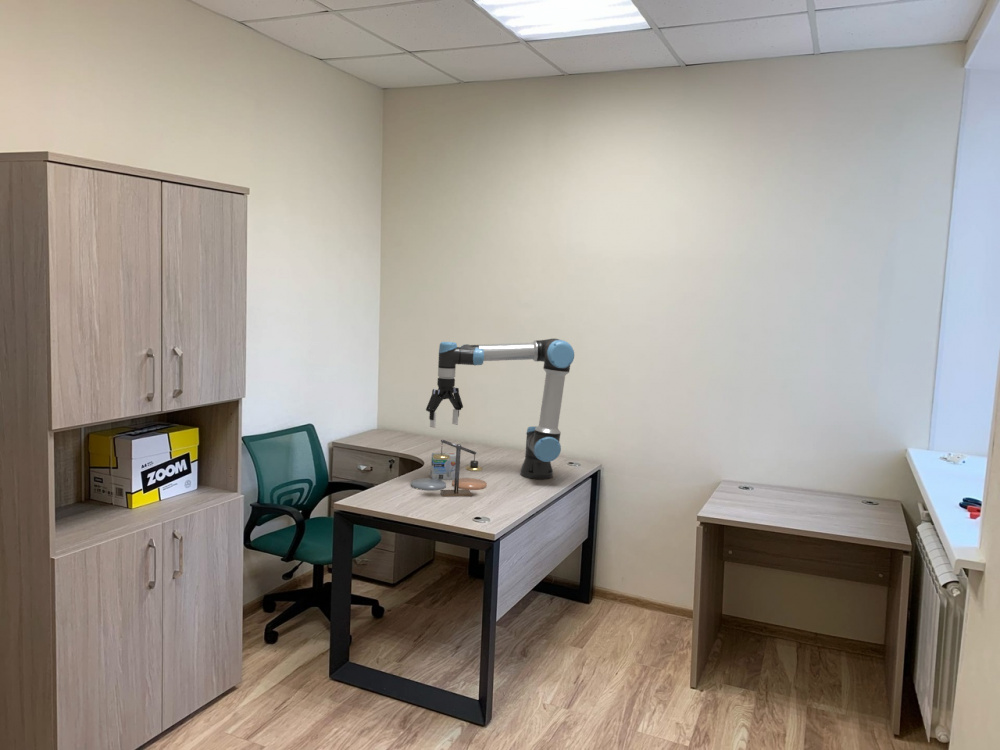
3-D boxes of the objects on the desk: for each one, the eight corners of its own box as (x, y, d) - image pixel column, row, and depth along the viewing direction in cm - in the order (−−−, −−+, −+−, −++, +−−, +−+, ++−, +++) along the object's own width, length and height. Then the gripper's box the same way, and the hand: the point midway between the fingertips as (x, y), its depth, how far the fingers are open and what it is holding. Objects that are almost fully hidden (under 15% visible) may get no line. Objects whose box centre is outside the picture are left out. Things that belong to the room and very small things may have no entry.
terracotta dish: (481, 480, 342) (482, 477, 342) (490, 489, 328) (490, 486, 328) (448, 480, 338) (449, 478, 338) (456, 490, 324) (456, 487, 324)
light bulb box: (432, 480, 339) (433, 456, 337) (430, 476, 345) (431, 452, 344) (456, 479, 341) (457, 456, 340) (453, 475, 348) (454, 452, 347)
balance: (478, 491, 324) (481, 437, 321) (482, 496, 317) (485, 441, 314) (429, 492, 318) (432, 437, 315) (432, 497, 311) (435, 441, 309)
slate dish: (442, 481, 338) (442, 478, 337) (449, 490, 323) (449, 487, 323) (408, 481, 333) (408, 478, 333) (413, 490, 319) (414, 487, 319)
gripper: (460, 375, 344) (457, 421, 346) (419, 378, 325) (416, 427, 328) (472, 377, 339) (469, 424, 342) (431, 380, 320) (428, 430, 323)
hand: (443, 425), depth 335 cm, fingers open, 13 cm apart
